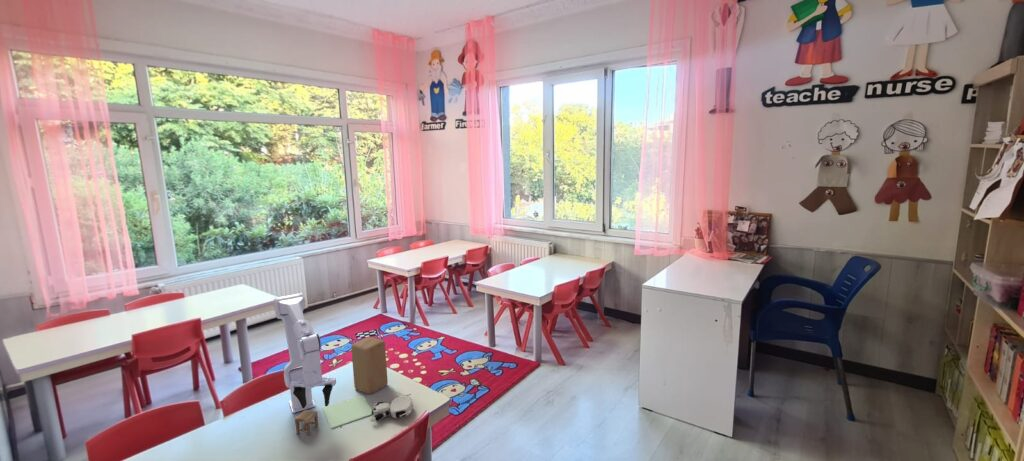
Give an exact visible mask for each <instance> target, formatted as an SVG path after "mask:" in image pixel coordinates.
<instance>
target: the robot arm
mask: <svg viewBox="0 0 1024 461" xmlns="http://www.w3.org/2000/svg"><path fill="white" fill-rule="evenodd" d="M273 306H274V307H273V308H274V312H275V313H274V314H275V316H276V319H279V320H281V321H282V323H283V325H284V326H283V327H284V332H285V338H286V343H287V348H288V355H289V362H288V363H286V364H285V366H284V368H283V378H284V379H283V380H284V384H285V387H286V388H288V389H289V391H290V392H289V393H290V400H289V403H288V404H289V406H290V409H291V413H292V414H295V413H298V412H303V411H304V410H309V409H311V408H314V407H316V403H315V401H314V398H313V392H312V389H313V388H315V387H323V388H322V391H321V392H322V393H323V399H324V407H327V406H329V404H330V397H331V395H332V394H331V393H332V390H333V387H335V386H336V384H337V378H336V377H324V376H323V373H322V365H321V364H322V362H321V355H320V350H322V341H321V337H320V334H319V333H317V332H316V331H314V329H313V328H314V327H313V326H312V324H311V322H310V321H309V320H307V319H306V318H305V316H304V309H305V307H306V298H305V296H304V293H302V292H299V293H298V292H297V293H295V294H289V295H283V296H279V297H277V296H276V297H275V298H274V299H273Z"/></svg>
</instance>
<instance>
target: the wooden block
mask: <svg viewBox="0 0 1024 461" xmlns="http://www.w3.org/2000/svg"><path fill="white" fill-rule="evenodd" d="M350 347H351V359H352V360H351V362H352V372H353V373H352V374H353V384H354V388H355V390H358V391H359V392H362V393H365V394H367V395H372V394H374V393H376V392H377V391H379V390H380V389H382V388H384V387H386V386H387V385H388V368H387V365H388V364H387V355H386V350H387V349H386V342H385V341H384V340H382V339H379V338H376V337H372V336H368V337H366V338H363V339H361V340H358V341H357V342H354V343H352V344H351V345H350Z"/></svg>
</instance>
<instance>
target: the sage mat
mask: <svg viewBox="0 0 1024 461" xmlns="http://www.w3.org/2000/svg"><path fill="white" fill-rule="evenodd" d="M372 410H373V409H372V408H371V407H370V405H369V404H368V402H367V400H366V398H365V397H364V395H362V394H361V395H359V396H356V397H352V398H350V399H347V400H346V399H345V400H342V401H340V402H336V403H333V404H330V405H328V406H323V407H322V411H323V412H324V415H325V417H326V420H327V423H328V424H329V428H330V429H331V430H333V429H335V428H338V427H341V426H343V425H346V424H350V423H352V422H354V421H358V420H360V419H363V418H364V419H365V418H366V417H369V416H372V415H373V414H372ZM373 416H374V415H373Z"/></svg>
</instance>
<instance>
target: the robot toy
mask: <svg viewBox="0 0 1024 461" xmlns="http://www.w3.org/2000/svg"><path fill="white" fill-rule="evenodd" d="M411 395H412V393H409V394H406V395H403V396H397V397H395V398H394V399H393V400H392V401H391V402H383V401H378V402H374V403H373V408H372V409H371V410H372V414H373V417H371V418H370V421H371V422H372V423H373V422H375V421H376V422H378V421H380V420H382V419H384V418H385V417H389V416H390V415H391V417H392V418H394V419H403V418H405V417H407V416H409V415H410V414H411V413H412V411H413V408H414V403H413V398H412V397H410V396H411Z"/></svg>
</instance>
